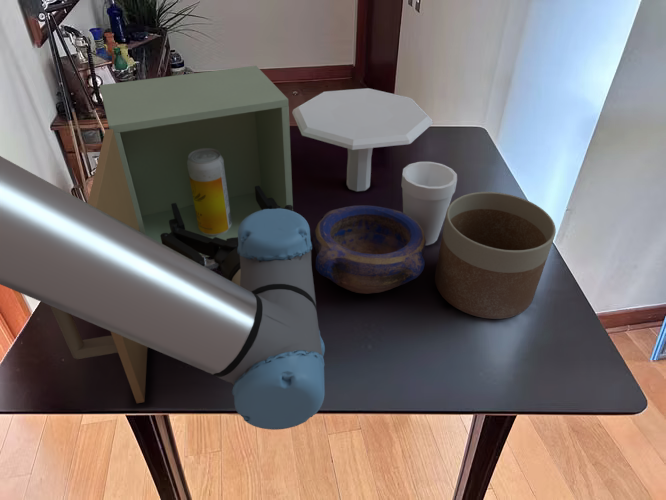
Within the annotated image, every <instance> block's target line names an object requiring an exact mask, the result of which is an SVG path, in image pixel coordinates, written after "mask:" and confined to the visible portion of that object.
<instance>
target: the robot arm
mask: <svg viewBox="0 0 666 500" xmlns="http://www.w3.org/2000/svg"><path fill="white" fill-rule="evenodd" d="M255 194H256V201H257V203H258V204H259V206H260V208H261V209H262V210H260V211H257V212H255V213H252V214H251V215H249V216H248V217H246V218H245V219H244V220H243V221H242V222H241V224H240V226H239V228H238V237H235V238H228V239H226V240H223V239H220V238H217V237H214V238H213V239H212V238H209V237H206V236H203V235H200V234H197V233H194V232H190V231H187V230H185V226H184V223H183V220H182V217H181V215H180V212H179V209H178V207H177V204H176V203H172V204H171V205H172V210H173V215H174V219H171V220H169V225H170V230H171V233H169V234H168V233H162V234H161V235H160V237H161V241H162V243H160V242H158V241H156V240H154V239H152V238H150V237H149V236H147V235H145V234H143V233H141V232H139V231H138V230H136V229H134V228H132V227H130V226H128V225H127V224H125V223H123V222H121V221H119V220H117V219H115V218H114V217H112V216H110V215H108V214H106V213H104V212H103V211H101V210H99V209H97V208H95V207H93V206H91V205H90V204H88V202H86V201H84V200H82V199H80V198H79V197H77V196H75V195H73V194H71V193H69V192H67V191H66V190H64V189H62V188H60V187H59V186H57V185H55V184H53V183H51V182H49V181H47V180H46V179H44V178H42V177H39V176H38V175H36V174H34V173H32V172H31V171H29V170H27V169H25V168H23V167H21V166H20V165H17V164H16V163H14V162H12V161H11V160H9V159H7V158H5V157H3V156H2V155H0V285H1V286H3V287H6V288H8V289H10V290H12V291H15V292H17V293H19V294H22V295H24V296H26V297H29V298H31V299H33V300H36V301H39V302H41V303H43V304H46V305H48V306H49V307H50V306H52V307H55V308H57V309H59V310H62V311H64V312H67V313H69V314H71V315H72V316H73V317H76V318H79V319H81V320H84V321H85V322H88V323H90V324H92V325H95V326H97V327H100V328H102V329H104V330H107V331H109V332H110V333H111V332H114V333H116V334H118V335H121V336H123V337H126V338H128V339H130V340H133V341H135V342H137V343H140V344H142V345H144V346H147V348H148V349H149V348H150V349H152V350H154V351H157V352H159V353H162V354H163V355H165V356H168V357H171V358H173V359H175V360H178V361H180V362H181V363H185V364H186V365H187V364H188V365H189V366H192V367H194V368H197V369H199V370H202V371H204V372H206V373H208V374H209V375H212V376H215V377H216V378H218V379H220V380H222V381H224V382H227V383H230V384H232V385H233V386H232V390H231V395H233V403H234V408H235V410H236V413H238V415H239V416H241V417H242V419H243V421H244V422H245V423H247V424H248V425H251V426H253V427H255V428H259V429H263V430H271V431H273V430H275V431H277V430H285V429H291V428H295V427H297V426H299V425H302V424H304V423H306V422H307V421H308V420H309V419H310V418H313V417H314V416H315V415H316V414H317V413H318V412H319V410H320V409H321V408H322V406H323V403H324V400H325V395H326V392H325V391H326V390H325V366H326V365H325V358H324V356H325V352H326V346H325V343H324V340H323V338H322V336H321V331H320V327H319V321H318V313H317V301H316V300H317V299H316V292H315V291H316V290H315V284H314V276H313V275H314V274H313V266H312V250H313V242H312V241H311V228H310V225H309V223H308V221H307V220H306V218H305V217H303V215H301V214H300V213H297V212H296V211H294V205H293V206H292V205H286V206H285V208H281V207H280V206H278V205H277V203H276V202H275V200H274V199H273V198H267V197H266V195H265V194H264V192H263V191H262V189H261V188H260V186H255ZM219 247H220V248H219ZM199 253H201V254H204V255H200V254H199ZM205 255H207V256H210V258H209V257H205ZM215 269H216V270H218V271H219V272H221V273H222V275H220V274H219V273H217V272H216V271H213V270H215Z"/></svg>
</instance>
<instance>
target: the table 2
mask: <svg viewBox="0 0 666 500" xmlns="http://www.w3.org/2000/svg"><path fill="white" fill-rule="evenodd" d="M291 113H292V116H293V118H294V121H295V122H296V125H297V128H298V129H299V132H300V134H301V136H302V137H306V138H310V139H314V140H317V141H321V142H324V143H327V144H331V145H334V146H337V147H342V148H344V149H347V164H346V186H347V188H348V189H349V190H351V191H354V192H365V191H367V190H369V188H370V187H371V177H372V174H371V173H372V155H373V149H374V148H384V147H393V146H404V145H406V146H407V145H411V144H412V143H413V142H415V140H416V139H418V138H419V136H421V135H422V134H423V133H424V132H425V131H426V130H428V128H430V127H431V126H432V125H433V124H434V122H433V119H432V118H431V117H430V116H429V115H428V114H427V113H426V111H424V109H423V108H421V107H420V105H419V104H418V103H416V101H415V100H414V99H413V98H411V97H409V96H405V95H399V94H395V93H391V92H386V91H382V90H379V89H375V88H374V89H373V88H369V87H367V88H354V89H340V90H327V91H323V92H320V93H318V94H317V95H315V96H314V97H312V98H311V99H309V100H307V101H306V102H304V103H302V104H301V105H298V106H297V107H295V108H293V109H292V112H291Z"/></svg>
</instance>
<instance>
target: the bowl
mask: <svg viewBox="0 0 666 500" xmlns="http://www.w3.org/2000/svg"><path fill="white" fill-rule="evenodd" d="M312 240H313V247H314V251H315V253H316V258H315V269H316V271H317V272H318V274H320V275H321V276H323V277H325V278H327V279H328V280H330V281H331V282H333V284H336V285H337V286H339V287H341V288H343V289H345V290H346V291H349V292H352V293H356V294H365V295H367V294H368V295H369V294H379V293H384V292H387V291H389V290H392V289H394V288H395V289H396V288H397V287H400V286H402V285H405V284H407V283H409V282H411V281H413V280H415V279H417V278H418V277H419V276H420V275H421V274H422V272H423V271H424V269H425V264H426V263H425V259H424V257H423V256H424V254H425V251H426V245H425V244H426V240H425V236H424V232H423V230H422V228H421V227H420V225H419V224H418V223H417V222H416V221H415V220H413V219H412V218H411V217H409V216H408V215H406V214H404V213H403V211H400V210H397V209H393V208H388V207H382V206H377V205H365V204H363V205H350V206H344V207H339V208H334V209H332V210H329V211H327V212H325V214H323V216H321V219H320V220H319V221H318V223H317V224H316V226H315V229H314V234H313V237H312Z"/></svg>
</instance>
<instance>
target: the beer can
mask: <svg viewBox="0 0 666 500" xmlns="http://www.w3.org/2000/svg"><path fill="white" fill-rule="evenodd" d="M187 167H188V173H189V178H190V184H191V189H192V195H193V200H194V206H195V211H196V217H197V222H198V228H199V230H200V231H202V232H203V233H204V234H206V235H208V236H219V235H222V234H224V233H226V232H227V231H228V230H229V228H230V227H231V225H232V221H231V213H230V206H229V198H228V191H227V183H226V175H225V168H224V160H223V158H222V156H221V155H220V152H219V151H217V150H215V149H211V148H203V149H198V150H195V151H193V152H191V153H190V154H189V155H188V160H187Z"/></svg>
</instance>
